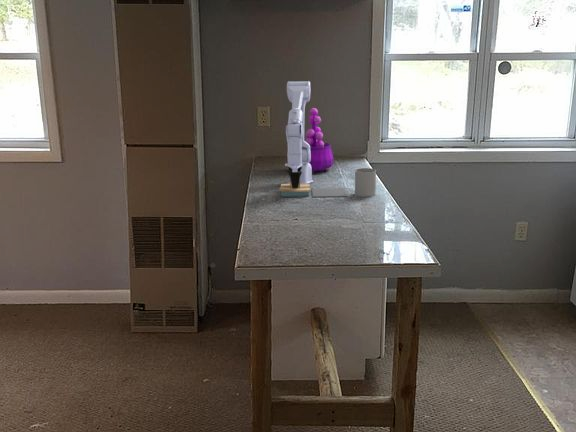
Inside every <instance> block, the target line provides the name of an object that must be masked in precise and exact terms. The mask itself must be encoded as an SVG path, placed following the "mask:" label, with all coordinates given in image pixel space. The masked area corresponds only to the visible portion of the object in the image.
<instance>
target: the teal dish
mask: <svg viewBox="0 0 576 432" xmlns="http://www.w3.org/2000/svg"><path fill="white" fill-rule="evenodd" d="M281 197H282V198H286V197H287V198H293V197H295V198H296V197H297V198H298V197H310V192H281Z"/></svg>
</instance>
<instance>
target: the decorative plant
mask: <svg viewBox="0 0 576 432" xmlns="http://www.w3.org/2000/svg"><path fill="white" fill-rule="evenodd" d="M318 113H319V111H318V109H317V108H315V107H312V108H311V109H310V110H309V115H311V116H309V119H308V122H309V124H310V125H311V128H309V129H307V131H306V133H305V137H306V139H305V142H306V143H308V144H309V145H310V151H311V160H310V162H309V164H310V165H311V167H312V172H319V171H321V172H322V171H325V170H328V169H329V168H331V167H333V165H334V156H333V151H332V145H331V144H330V143H327V142H324V141H323V140H322V139H323V138H324V134H323V132H322V130H321V127H319V126H317V125H318V124H320V123H321V122H322V119H321V117H320V115H318ZM302 149H307V148H302Z"/></svg>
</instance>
